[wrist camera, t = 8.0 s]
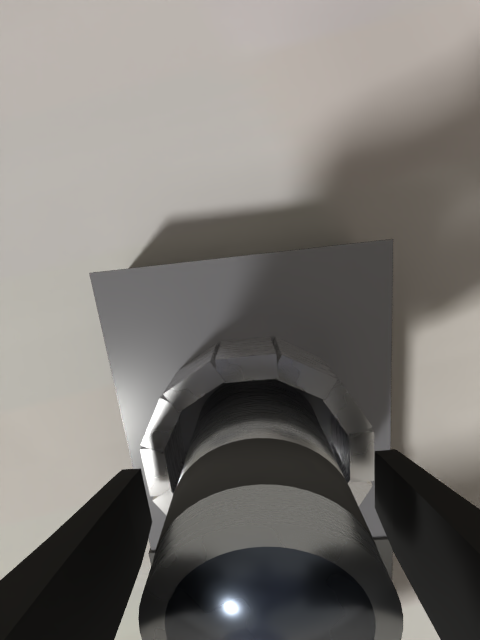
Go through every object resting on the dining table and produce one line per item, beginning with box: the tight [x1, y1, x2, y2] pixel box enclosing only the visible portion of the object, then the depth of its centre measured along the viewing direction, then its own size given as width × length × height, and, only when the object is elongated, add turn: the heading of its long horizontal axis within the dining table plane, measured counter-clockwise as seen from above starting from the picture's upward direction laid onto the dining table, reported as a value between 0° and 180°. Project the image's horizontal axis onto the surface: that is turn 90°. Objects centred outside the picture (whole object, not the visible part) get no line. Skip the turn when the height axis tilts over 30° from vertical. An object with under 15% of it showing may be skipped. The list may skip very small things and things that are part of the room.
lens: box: [139, 379, 403, 640], centre depth 8 cm, size 5×5×6 cm
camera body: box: [89, 239, 393, 581], centre depth 12 cm, size 18×11×5 cm, turn 6°
